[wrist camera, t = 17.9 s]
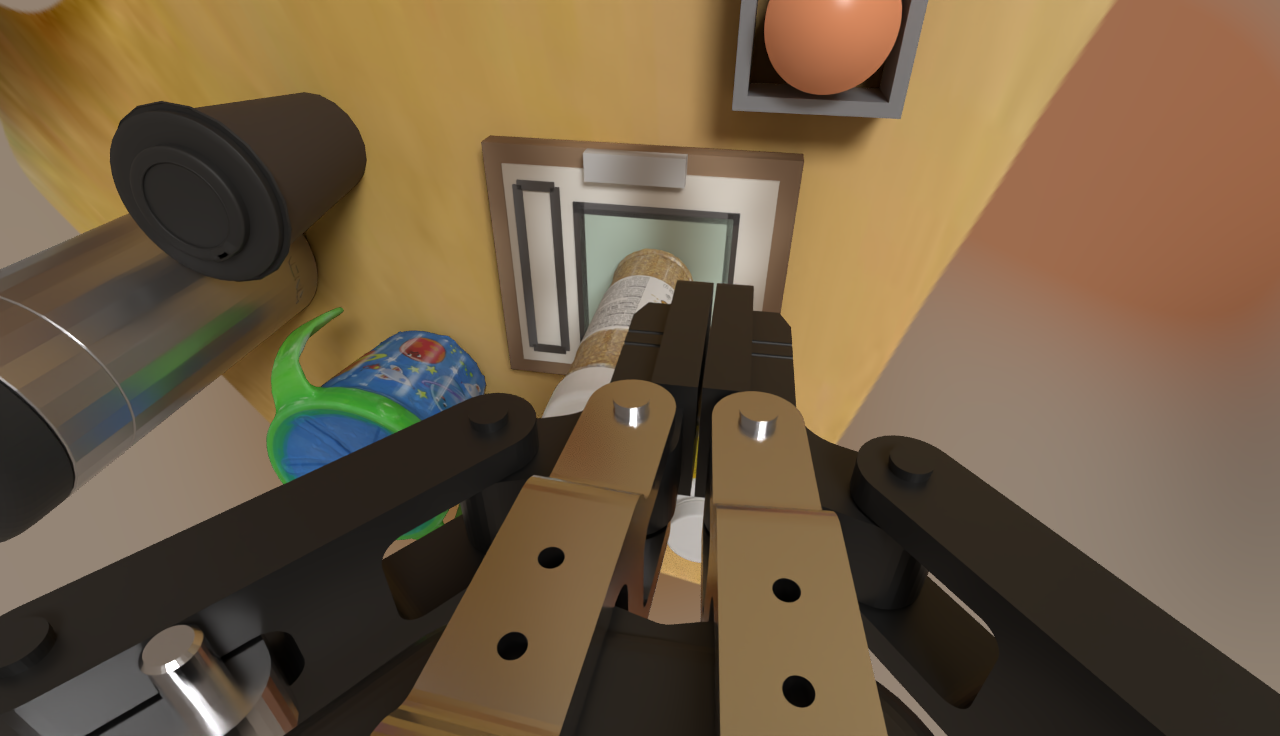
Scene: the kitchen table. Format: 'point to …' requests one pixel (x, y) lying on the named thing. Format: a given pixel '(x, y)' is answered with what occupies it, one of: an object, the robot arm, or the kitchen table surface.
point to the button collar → (845, 103)
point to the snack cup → (363, 399)
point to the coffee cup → (234, 177)
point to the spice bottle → (615, 325)
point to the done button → (830, 41)
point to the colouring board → (627, 228)
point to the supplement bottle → (687, 524)
